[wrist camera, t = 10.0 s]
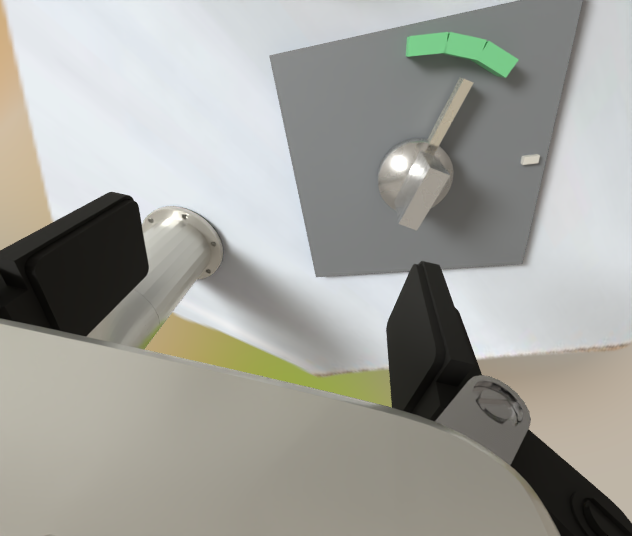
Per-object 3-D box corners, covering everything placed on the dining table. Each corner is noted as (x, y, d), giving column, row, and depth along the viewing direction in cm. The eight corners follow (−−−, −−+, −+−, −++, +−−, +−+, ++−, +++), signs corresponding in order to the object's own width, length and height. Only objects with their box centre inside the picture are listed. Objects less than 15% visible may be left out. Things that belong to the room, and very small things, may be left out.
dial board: (317, 271, 48) (313, 286, 45) (273, 55, 33) (262, 55, 30) (517, 257, 42) (530, 274, 39) (576, -12, 27) (604, -21, 24)
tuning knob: (426, 215, 38) (438, 248, 32) (366, 193, 38) (366, 221, 31) (499, 94, 30) (536, 105, 24) (425, 63, 30) (442, 65, 23)
